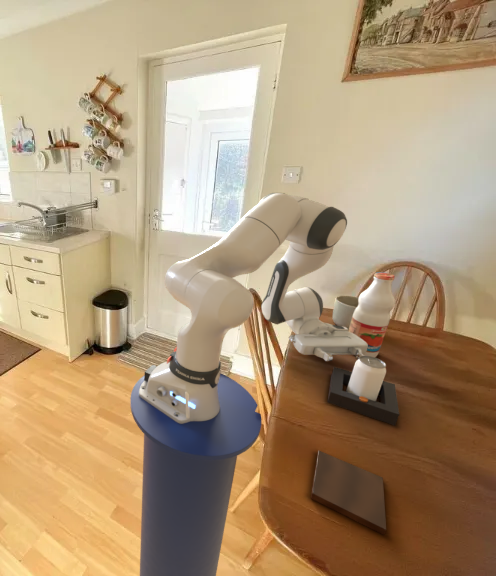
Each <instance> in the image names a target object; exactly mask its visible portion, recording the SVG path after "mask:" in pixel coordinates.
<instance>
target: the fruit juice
mask: <svg viewBox="0 0 496 576" xmlns="http://www.w3.org/2000/svg"><path fill="white" fill-rule="evenodd" d="M394 280H395V274H392V273H388V272H381V271H379V272H378V271H377V272H375V273H374V274H373V281H372V282H371V284H370V285H369V286H368V287H367V288H366V289H365V290H363V291H362V292H361V293H360V294H359V296H358V297H359V299H358V303H359V305H358V307H357V308H356V309H355V311H354V313H353V317H352V320H351V324H350V327H349V330H348V332H351V333H353V334H355V335H357V336H358V337H360V338H361V339H363V340H364V341H365V342H366V343H367V344H368V348H367V351H366V353H365V354H364V355H365V356H371V357H375V358H377V357H378V356H379V353H380V350H381V348H382V345H383V341H384V338H385V336H386V332H387V331H388V327H389V324H390V321H391V311H392V310H393V309H394V307H395V305H396V298H395V296H394V294H393V290H392V283H393V282H394Z"/></svg>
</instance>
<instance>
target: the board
mask: <svg viewBox="0 0 496 576" xmlns="http://www.w3.org/2000/svg"><path fill="white" fill-rule="evenodd" d="M310 493H311V494H310V499H311V500H313V501H315V502H317V503H319V504H321V505H323V506H324V507H327V508H328V509H331V510H333V511H335V512H337V513H339V514H340V515H342V516H344V517H346V518H349V519H351V520H352V521H355V522H356V523H359V524H361V525H363V526H365V527H367V528H368V529H371V530H372V531H375V532H377V533H379V534H381V535H382V536H384V535H385V533H386V531H387V519H386V518H387V517H386V504H385V491H384V478H383V476H380V475H378V474H375V473H373V472H370V471H368V470H366V469H364V468H361V467H358V466H357V465H354V464H352V463H349V462H347V461H345V460H342V459H340V458H339V457H335V456H333V455H331V454H329V453H326V452H323V451H321V450H318V451H317V455H316V461H315V467H314V473H313V479H312V487H311V492H310Z"/></svg>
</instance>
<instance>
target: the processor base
mask: <svg viewBox="0 0 496 576" xmlns="http://www.w3.org/2000/svg"><path fill="white" fill-rule="evenodd" d="M351 374H352V371H351V370H347V369H344V368H340V367H337V366H333V369H332V373H331V375H330V382H329V389H328V395H327V396H328V397H327V403H328V404H332V405H333V406H337V407H340V408H342V409H346V410H348V411H352V412H354V413H357V414H360V415H363V416H366V417H369V418H372V419H375V420H377V421H380V422H384V423H386V424H390V425H391V426H396V424H397V421H398V420H399V417H400V409H399V402H398V397H397V396H398V395H397V390H396V383H392V382H389V381H385V380H383V382H382V385H381V388H380V391H379V393H378V396H379V400H380V402H379V401H377V400H376V401H373V400H370V399H367V398H365V397H362V396H358V395H355V394H351V393H348V392H346V390H343V387H344V385H345V386H347V387H348V384H349V381H350V377H351Z"/></svg>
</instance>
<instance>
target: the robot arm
mask: <svg viewBox="0 0 496 576" xmlns="http://www.w3.org/2000/svg"><path fill="white" fill-rule="evenodd" d="M347 225H348V219H347V216H346V214H345V212H344V211H342V210H341V209H339V208H336V207H334V206H328V205H326V204H323V203H320V202H318V201H316V200H315V201H314V200H311V199H309V198H306V197H304V196H303V197H302V196H298V195H292V194H288V193H285V192H271V193H269V194H267V195H265V196H263V197H262V198H261V199H260V201H259V202H258V203H257V204H256V205H254V206H253V207H252V208H251V209H250V210H249V211H248V212H247V213H246V214H245V215H243V217H241V218H240V219H239V221H238V222H236V223H235V225H234V226H233V227H232V228H231V229H230V230H229V231H228V232H226V234H225V235H224V236H223V237H222V238H221V239H219V240H218V241H217V242H216V243H214V244H213V245H212V246H210V247H209V248H207V249H205V250H204V251H202V252H200V253H199V254H195V256H193V257H191V258H188V259H184V260H180V261H176V262H175V263H173V264H171V265H170V267H169V268H168V269H167V271H166V273H165V276H164V286H165V288H166V290H167V291H168V293H169V294H170V295H171V296H172V297H173V299H175V300H176V301H177V302H179V303H180V304H182V305H183V306H184V307H185V308H187V309H189V311H190V313H191V318H190V322H187V323H185V324H184V325H182V326H181V327H180V328H179V329H178V332H177V337H176V346H175V348H174V349H173V351H172V352H171V353H170V354H169V357H168V358H167V359H166V361H164V362H161V363H160V364H158V365H157V366H156V365H154V364H152V365H151V366H150V367H148V368H147V369H146V370H145V371H144V375H145V377H144V382H143V383H142V385H141V386H140V389H139V396H140V397H141V398H142V399H144V400H145V401H147V402H148V403H150V404H151V405H152V406H154V407H155V408H157V409H158V410H160V411H161V412H163V413H164V414H166V415H167V416H169V417H170V418H171V419H173V420H174V421H176V422H177V423H180V424H183V423H187V422H190V421H206V420H210V419H212V418H214V417H215V416H216V415H217V414H218V413H219V410H220V403H219V399H218V382H219V379H220V373H222V372H221V370H222V369H221V366H222V363H221V353H222V348H223V343H224V339H225V337H226V335H227V333H228V332H229V331H230V330H232V329H235V328H238V327H240V326H242V325H243V324H244V323H245V322H247V321H248V319H249V318H250V317H251V314H252V313H253V310H254V304H255V303H254V295H253V293H252V292H251V291H250V290H249V289H248V288H247V287H246V286H244V284H242V283H241V282H239V281H238V280H236V279H234V278H236V277H239V276H243V275H248V274H249V275H250V274H251V273H254V272H256V271H257V270H259V269H260V268H261V267H262V266H263V264H264V263H266V261H267V260H268V259H269V258H270V257H271V256H272V255H273V254H274V253H275V252H276V251H277V250H278V248H280V247H281V246H282V244H283V243H284V242H285V241H288V242H289V245H288V247H287V249H286V251H285V253H284V254H283V256H282V257H281V258H280V260H279V261H278V262H277V263H276V264H275V266H274V269H273V271H272V274H271V278H270V281H269V285H268V288H267V291H266V294H265V296H264V298H263V300H262V302H261V306H260V308H261V313H262V315H263V316H262V317H264V319H265V320H266V321H268V322H269V323H272V324H274V325H280V324H283V323H285V324H286V326H287V327H288V328H289V329H290V331H292V332H293V333H294V334H291V335H289V336H288V340H289V341H290V342H291V343H292V344H293V347H294V348H295V349H296V351H297V352H298V353H299V354H301V355H303V356H315V357H318V358H321V359H323V360H324V361H325V362H333V359H334V357H333V356H349V355H350V356H355V357H354V359H355V360H356V361H357V360H358V359H359V357H360V356H365V355H364V354H365V353H366V351H367V348H368V344H367V343H366V342H365V341H364V340H363V339H361V338H360V337H358V336H357V335H355V334H353V333H351V332H348V329H347V328H346V327H343V326H337V325H336V324H335V325H334V324H331V323H328V322H323V321H322V320H320V318H321V316H322V314H323V310H324V302H323V299H322V296H321V295H320V293H318V292H317V291H316V290H315V289H313V288H311V287H309V286H304V287H300V288H295V289H292V290H289V291H288V289H289V287H290V286H291V285H292V284H293V283H294V282H296V281H297V280H299V279H301V278H302V277H305V276H306V275H307V276H308V275H309V274H311V273H313V272H316V271H317V270H320V269H321V268H323V267H324V266H325V265H326V264H327V263H328V261H329V260H330V258H331V256H332V255H333V251H334V246H335V245H336V244H338V242H339V241H340V240H341V238H342V237H343V235H344V233H345V232H346V230H347ZM176 416H177V417H176Z"/></svg>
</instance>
